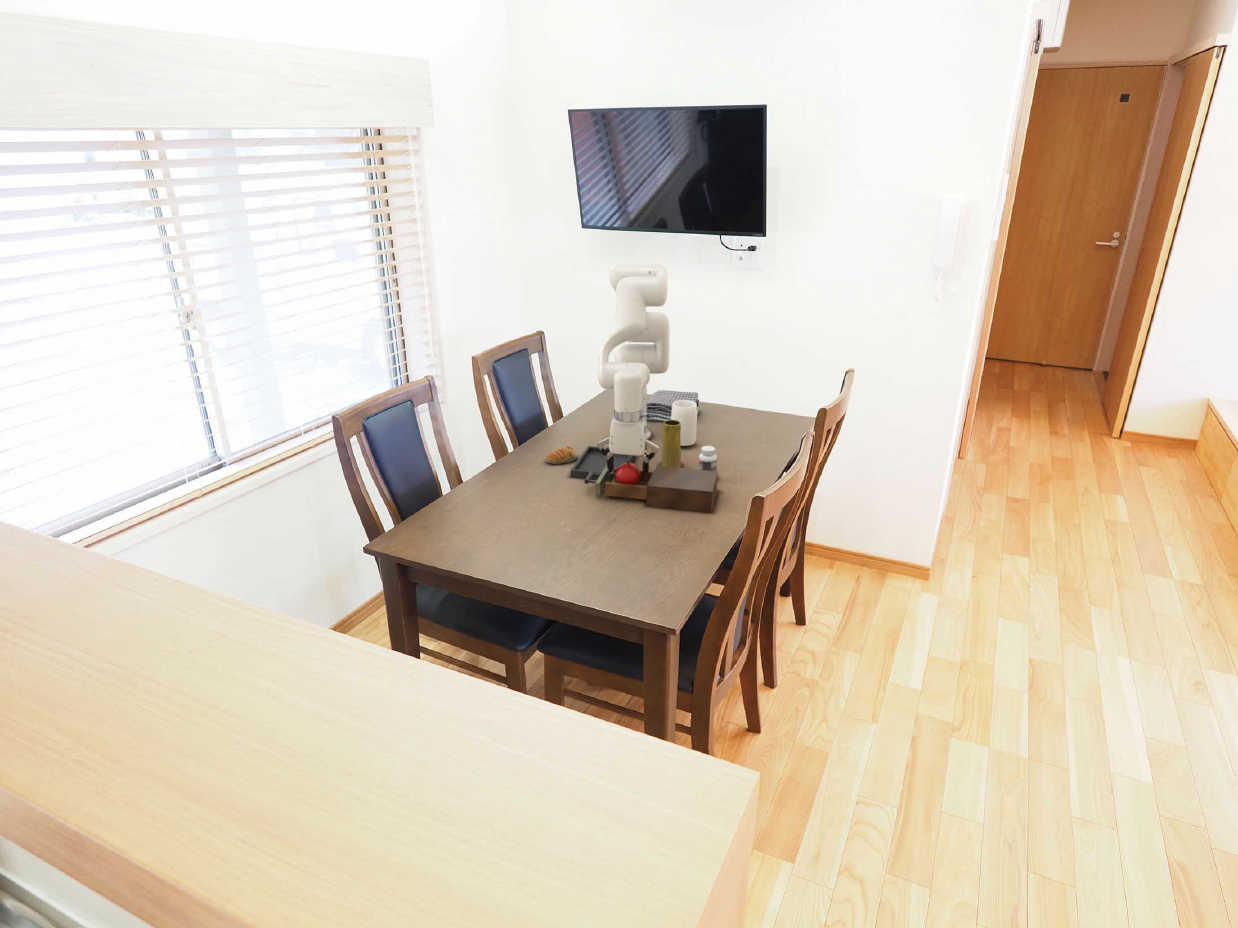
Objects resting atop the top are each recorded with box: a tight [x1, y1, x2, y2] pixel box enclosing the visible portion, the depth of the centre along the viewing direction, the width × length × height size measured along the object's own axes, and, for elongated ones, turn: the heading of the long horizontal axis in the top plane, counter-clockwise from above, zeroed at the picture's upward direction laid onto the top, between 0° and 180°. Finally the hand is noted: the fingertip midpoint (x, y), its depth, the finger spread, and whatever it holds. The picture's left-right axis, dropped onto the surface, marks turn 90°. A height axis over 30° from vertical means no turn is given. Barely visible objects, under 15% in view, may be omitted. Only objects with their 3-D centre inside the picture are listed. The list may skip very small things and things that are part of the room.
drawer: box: [583, 465, 654, 501], centre depth 223 cm, size 21×13×4 cm, turn 77°
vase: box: [660, 420, 682, 468], centre depth 239 cm, size 6×6×14 cm
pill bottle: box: [697, 445, 718, 471], centre depth 231 cm, size 5×5×10 cm
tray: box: [570, 445, 637, 482], centre depth 241 cm, size 20×16×2 cm
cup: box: [671, 400, 698, 447], centre depth 255 cm, size 8×8×14 cm
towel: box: [647, 389, 700, 422], centre depth 281 cm, size 15×18×8 cm
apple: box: [615, 461, 641, 485], centre depth 222 cm, size 7×7×8 cm
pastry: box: [545, 445, 578, 465], centre depth 245 cm, size 9×7×4 cm
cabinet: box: [646, 465, 719, 513], centre depth 220 cm, size 18×14×6 cm
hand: (628, 472), depth 221 cm, fingers open, 9 cm apart
